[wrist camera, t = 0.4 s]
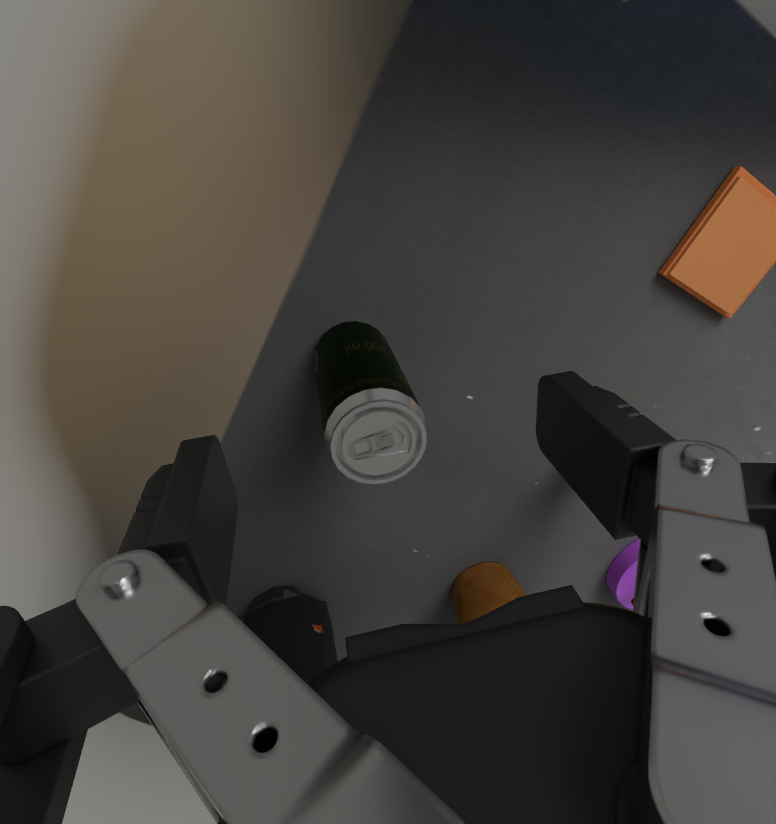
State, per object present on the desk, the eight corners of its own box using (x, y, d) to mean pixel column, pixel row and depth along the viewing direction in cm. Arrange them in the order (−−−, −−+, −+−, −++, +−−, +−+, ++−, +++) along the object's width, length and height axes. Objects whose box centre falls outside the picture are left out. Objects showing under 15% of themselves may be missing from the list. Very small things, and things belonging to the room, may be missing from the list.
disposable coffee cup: (427, 619, 51) (464, 741, 40) (447, 549, 46) (495, 667, 36) (511, 615, 53) (566, 730, 43) (538, 548, 49) (607, 659, 38)
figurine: (590, 577, 52) (718, 762, 37) (659, 519, 50) (828, 691, 34) (636, 606, 56) (769, 784, 41) (702, 554, 54) (870, 721, 39)
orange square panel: (734, 165, 34) (745, 166, 33) (800, 221, 37) (811, 223, 36) (657, 272, 37) (665, 275, 36) (724, 316, 40) (733, 320, 39)
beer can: (324, 396, 36) (341, 499, 26) (303, 329, 34) (312, 414, 23) (394, 377, 37) (438, 471, 26) (379, 308, 34) (421, 384, 24)
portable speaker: (300, 564, 44) (312, 829, 27) (350, 620, 49) (386, 875, 32) (217, 606, 45) (179, 890, 28) (274, 657, 49) (271, 927, 33)
